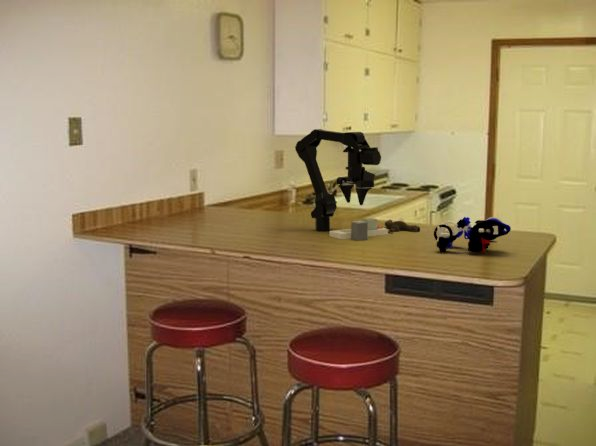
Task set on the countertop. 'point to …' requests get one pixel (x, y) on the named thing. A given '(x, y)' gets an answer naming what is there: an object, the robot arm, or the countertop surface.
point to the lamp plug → (371, 223)
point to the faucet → (400, 227)
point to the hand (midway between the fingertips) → (354, 203)
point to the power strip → (347, 233)
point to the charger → (359, 230)
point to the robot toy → (471, 233)
